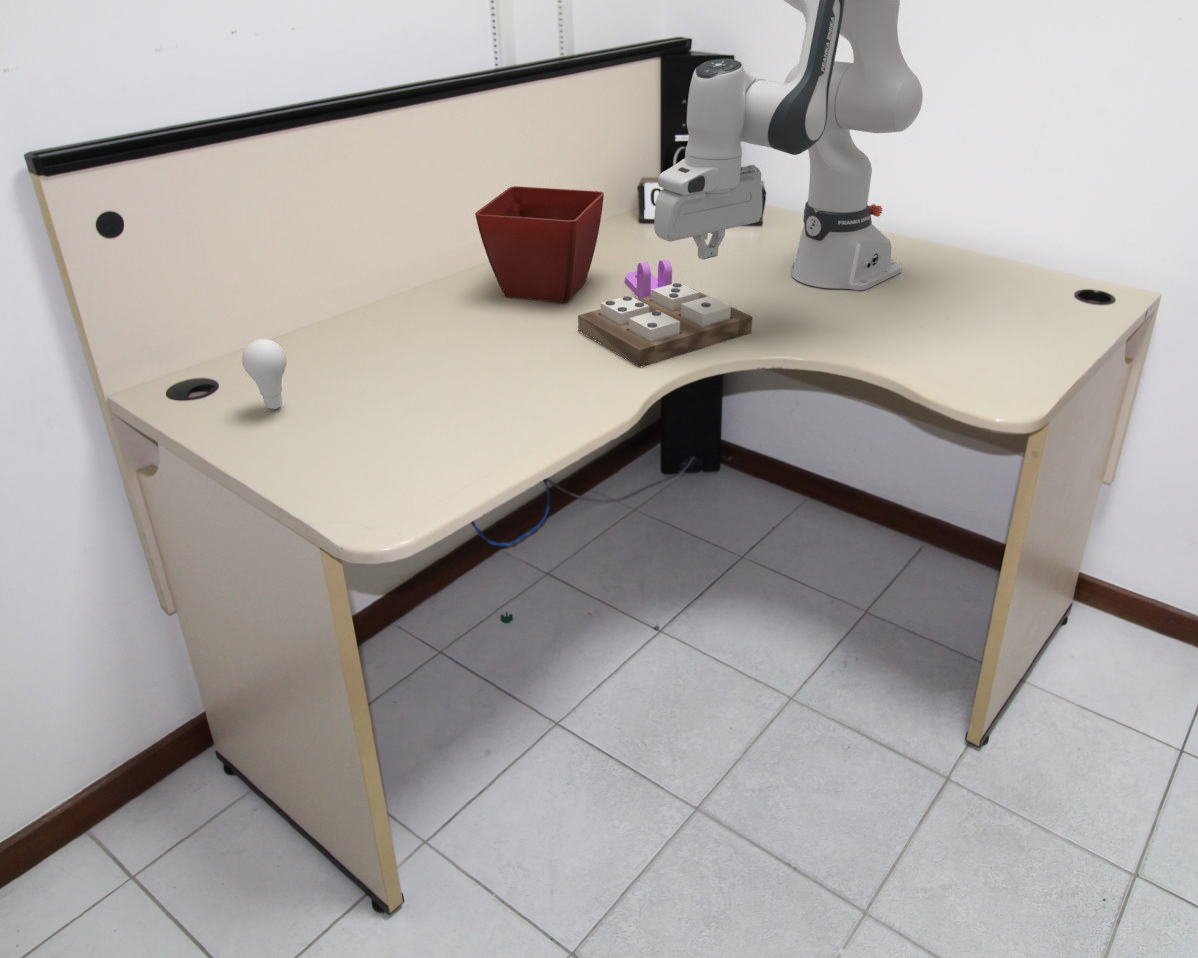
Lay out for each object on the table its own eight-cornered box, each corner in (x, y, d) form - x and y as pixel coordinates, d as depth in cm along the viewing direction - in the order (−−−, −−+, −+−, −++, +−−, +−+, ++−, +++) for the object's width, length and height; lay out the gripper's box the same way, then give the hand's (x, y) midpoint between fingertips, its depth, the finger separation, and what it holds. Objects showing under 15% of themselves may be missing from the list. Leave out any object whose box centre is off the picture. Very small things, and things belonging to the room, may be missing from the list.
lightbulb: (258, 400, 146) (243, 333, 140) (299, 398, 146) (286, 331, 140) (249, 419, 141) (233, 350, 135) (291, 417, 141) (277, 348, 135)
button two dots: (657, 328, 163) (657, 309, 162) (679, 339, 159) (680, 320, 157) (628, 336, 161) (629, 317, 159) (650, 348, 156) (650, 328, 155)
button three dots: (677, 299, 175) (678, 281, 173) (698, 309, 170) (699, 291, 168) (651, 306, 172) (651, 288, 170) (671, 317, 167) (672, 298, 166)
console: (686, 301, 178) (686, 286, 177) (751, 332, 166) (752, 316, 164) (578, 331, 167) (578, 315, 165) (639, 367, 154) (639, 350, 153)
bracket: (671, 299, 180) (672, 263, 176) (643, 302, 179) (643, 266, 175) (647, 276, 190) (648, 242, 187) (621, 279, 189) (621, 245, 185)
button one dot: (707, 313, 169) (708, 295, 167) (729, 324, 164) (730, 305, 163) (680, 321, 166) (681, 302, 164) (702, 332, 162) (703, 313, 160)
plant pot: (479, 302, 179) (472, 212, 170) (516, 268, 195) (511, 185, 186) (577, 312, 175) (574, 220, 166) (606, 277, 190) (605, 191, 181)
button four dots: (628, 312, 169) (628, 294, 168) (649, 323, 165) (649, 304, 163) (600, 320, 166) (600, 301, 165) (620, 331, 162) (620, 312, 160)
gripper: (748, 159, 159) (742, 241, 166) (649, 177, 149) (647, 263, 156) (774, 167, 154) (767, 250, 162) (674, 186, 145) (671, 274, 152)
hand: (707, 257), depth 159 cm, fingers closed
